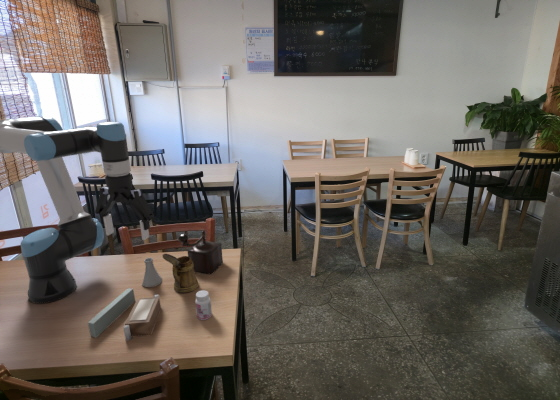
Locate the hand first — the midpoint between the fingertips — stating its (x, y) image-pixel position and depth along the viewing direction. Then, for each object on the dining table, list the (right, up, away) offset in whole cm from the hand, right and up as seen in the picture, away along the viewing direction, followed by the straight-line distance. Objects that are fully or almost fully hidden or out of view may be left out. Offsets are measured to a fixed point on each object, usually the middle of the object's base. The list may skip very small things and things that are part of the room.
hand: (127, 236), depth 115 cm
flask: (+1, -20, +19) cm, 28 cm away
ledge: (+1, -27, -2) cm, 27 cm away
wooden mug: (+14, -21, +14) cm, 29 cm away
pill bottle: (+25, -26, -1) cm, 37 cm away
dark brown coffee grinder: (+19, -17, +28) cm, 38 cm away
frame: (+7, -28, -3) cm, 29 cm away
